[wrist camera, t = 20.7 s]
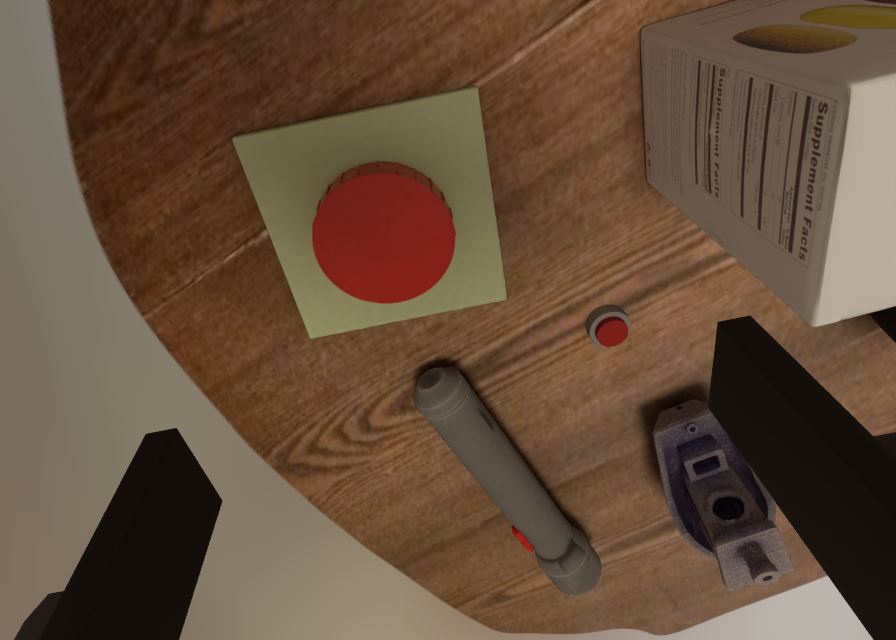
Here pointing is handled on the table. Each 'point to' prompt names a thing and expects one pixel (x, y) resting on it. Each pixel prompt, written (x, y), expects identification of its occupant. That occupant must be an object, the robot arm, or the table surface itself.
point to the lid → (383, 233)
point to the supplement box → (783, 143)
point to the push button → (608, 325)
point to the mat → (365, 141)
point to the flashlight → (507, 479)
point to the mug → (886, 320)
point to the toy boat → (718, 497)
